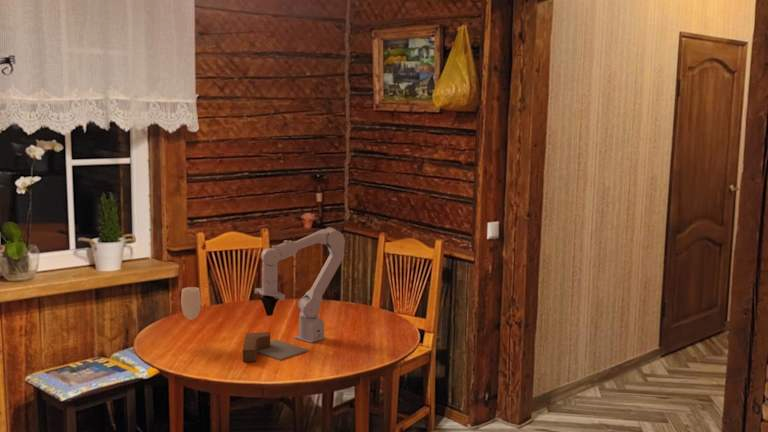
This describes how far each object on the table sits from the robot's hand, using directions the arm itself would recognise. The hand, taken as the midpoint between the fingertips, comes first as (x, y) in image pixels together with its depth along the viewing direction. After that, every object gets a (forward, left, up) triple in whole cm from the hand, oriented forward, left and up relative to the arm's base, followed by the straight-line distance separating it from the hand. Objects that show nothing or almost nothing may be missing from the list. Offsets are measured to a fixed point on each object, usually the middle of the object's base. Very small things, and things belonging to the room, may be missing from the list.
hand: (269, 315), depth 289 cm
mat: (-10, +5, -10) cm, 15 cm away
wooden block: (-1, +6, -7) cm, 10 cm away
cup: (+20, +21, -11) cm, 31 cm away
